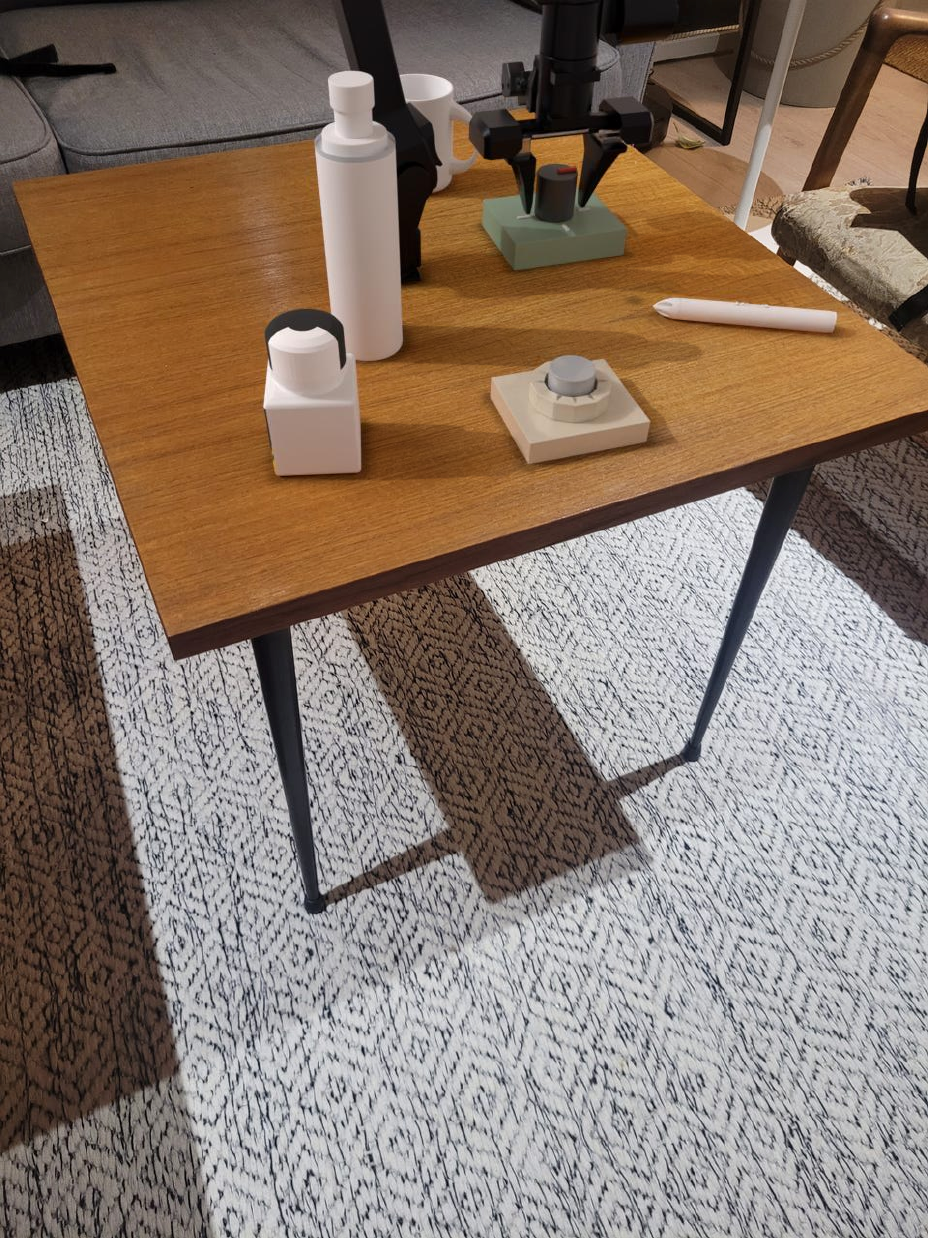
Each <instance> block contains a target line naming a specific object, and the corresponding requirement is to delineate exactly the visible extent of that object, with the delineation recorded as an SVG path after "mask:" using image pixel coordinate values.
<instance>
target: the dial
mask: <svg viewBox="0 0 928 1238" xmlns="http://www.w3.org/2000/svg"><path fill="white" fill-rule="evenodd" d="M578 177H579V172H578V167H577V166H576V165H573V166H571V165H568V164H564V163H563V164H562V163H548V164H543V165H542V166H540V167H538V169H536V179H535V181H536V182H535V192H534V193H535V207H534V214H535V216H536V217H538V218H539V219H541V220H544V221H548V222H564V221H567V220H569V219H571V218H572V217H573V215H574V206H575V197H576V188H578V187H577V185H578Z"/></svg>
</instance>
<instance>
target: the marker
mask: <svg viewBox="0 0 928 1238" xmlns="http://www.w3.org/2000/svg"><path fill="white" fill-rule="evenodd" d="M652 307H653V309H654V310H655V311H656V312H657V313H658V314H660V315H661V316H663V317H666V318H667V319H672V320H681V321H691V322H702V323H713V324H724V325H725V324H726V325H735V326H747V327H759V328H768V329H769V328H770V329H781V330H792V331H802V332H803V331H804V332H814V333H815V332H816V333H824V334H828V333H833V332H834V331H835V329H836V325H837V320H838V313H837V312H836V311H831V310H824V309H813V308H811V309H810V308H800V307H793V306H792V307H789V306H778V305H769V304H766V303H765V304H764V303H762V304H756V303H748V301H747V302H746V303H745V302H744V301H743V302H738V301H737V300H736V302H732V301H724V300H723V301H722V300H710V299H709V300H708V299H699V298H689V297H688V298H687V297H669V298H665V299H663V300H660V301H658V302H655V304H653V306H652Z"/></svg>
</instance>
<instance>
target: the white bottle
mask: <svg viewBox="0 0 928 1238" xmlns="http://www.w3.org/2000/svg"><path fill="white" fill-rule="evenodd" d="M327 82H328V83H327V85H328V95H329V105H330V108H331V109H332V110H333V117H334V121H333V122H330V123H328V124H326V125H325V126H324V127H323V128H322V130H321V132H320V133H318V134H317V136H316V137H315V138H314V152H315V153H314V154H315V162H316V173H317V184H318V185H317V186H318V193H319V194H318V195H319V203H320V204H319V205H320V214H321V225H322V234H323V246H324V254H325V255H324V256H325V265H326V275H327V284H328V285H327V286H328V294H329V304H330V314H332V315H333V316H335V317H336V318H337V319H338V320H339V321H340V322H341V323H342V325H343V327H344V336H345V347H346V353H352V354H353V355H354V356H355V361H360V362H375V361H381V360H385V359H388V358H390V357H392V356H393V355H395V354H397V352H399V351H400V349H401V348H402V346H403V341H404V334H403V333H404V331H403V311H402V310H403V307H402V304H403V303H402V284H401V276H400V249H399V222H398V196H397V172H396V148H395V144H394V143H395V138H394V136H393V135H392V134H391V133H390V132H388V131H387V130H386V128H385V127H384V126H383V125H381V124H379V123H377V122H374V121H372V108H373V107H374V104H375V101H374V82H373V77H372V76H371V75H369V74H367V73H364V72H360V71H351V70H345V71H343V70H342V71H338V72H335V73H333V74H331V75H330V76H329V77H328V78H327ZM390 138H391V139H392V140H393V141H394V142H393V141H392V140H391V139H390Z"/></svg>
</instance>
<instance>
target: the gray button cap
mask: <svg viewBox="0 0 928 1238" xmlns="http://www.w3.org/2000/svg"><path fill="white" fill-rule="evenodd" d="M551 361H552V362H551V363H550V366H549V375H548V387H549V389H550V390H551V391H553V392H555V393H556V394H558V395H560V396H567V397H579V396H585V395H589V394H590V393H591V392H592V391H593V389H594V383H595V376H596V367H595V365H594V364H593V363H592V362H591V361H592V360H590V359H588V358H586V357H584V356H580V355H573V354H566V355H561V356H558V357H555V358H554V359H553V360H551Z"/></svg>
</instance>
